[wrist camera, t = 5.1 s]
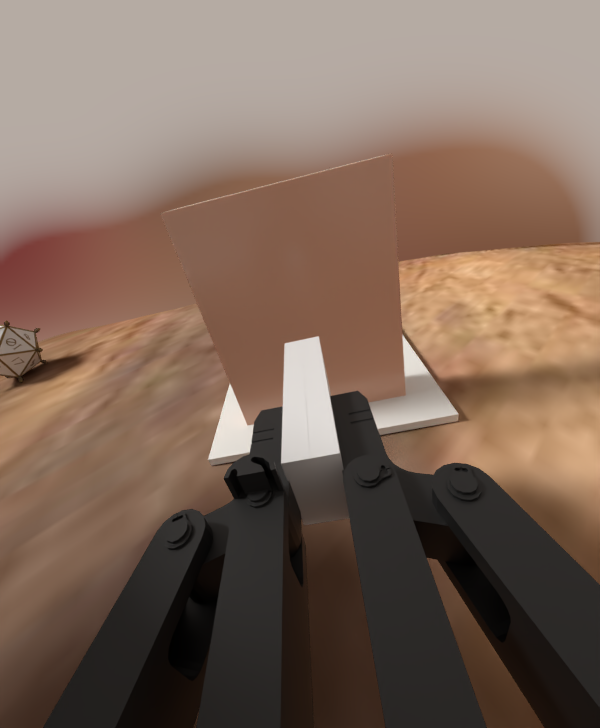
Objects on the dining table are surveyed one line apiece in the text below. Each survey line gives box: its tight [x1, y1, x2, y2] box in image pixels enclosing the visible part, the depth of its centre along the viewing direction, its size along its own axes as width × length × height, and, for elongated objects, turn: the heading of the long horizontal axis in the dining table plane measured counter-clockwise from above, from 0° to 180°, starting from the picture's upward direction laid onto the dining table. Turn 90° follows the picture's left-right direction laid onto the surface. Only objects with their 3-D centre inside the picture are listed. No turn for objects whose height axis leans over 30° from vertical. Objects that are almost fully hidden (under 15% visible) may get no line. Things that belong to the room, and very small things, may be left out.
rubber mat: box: [208, 335, 459, 466], centre depth 30 cm, size 21×17×1 cm
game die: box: [0, 321, 48, 383], centre depth 43 cm, size 9×8×10 cm
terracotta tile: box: [160, 154, 406, 425], centre depth 21 cm, size 12×2×15 cm, turn 92°
